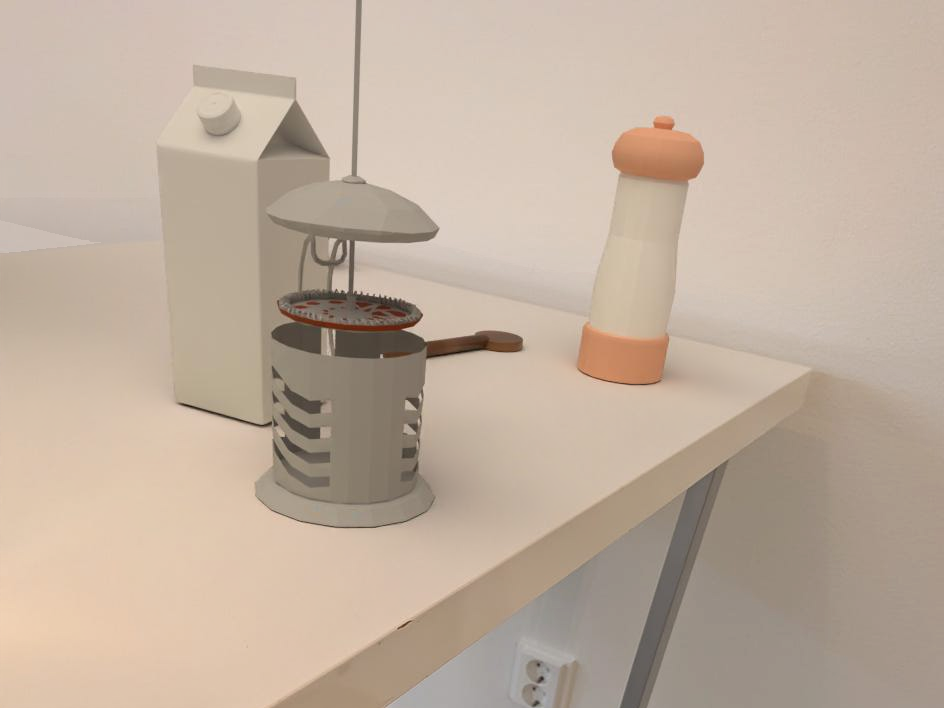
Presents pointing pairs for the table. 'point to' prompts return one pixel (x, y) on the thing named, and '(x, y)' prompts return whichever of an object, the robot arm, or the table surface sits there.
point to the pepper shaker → (640, 255)
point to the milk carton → (234, 234)
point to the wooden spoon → (469, 344)
